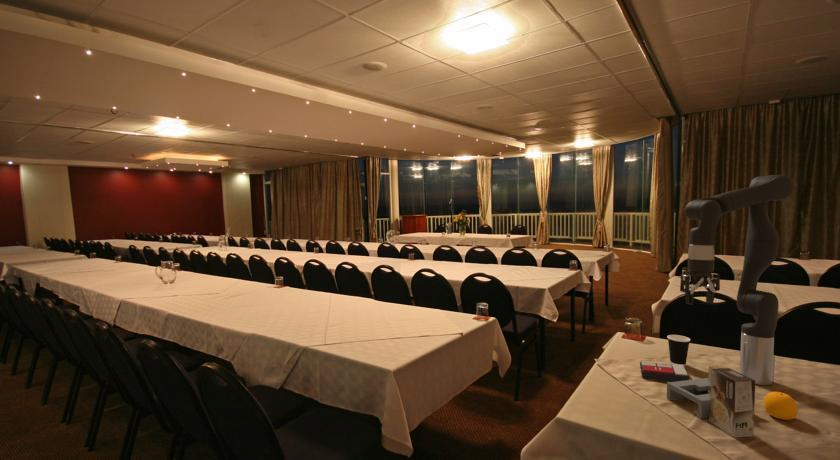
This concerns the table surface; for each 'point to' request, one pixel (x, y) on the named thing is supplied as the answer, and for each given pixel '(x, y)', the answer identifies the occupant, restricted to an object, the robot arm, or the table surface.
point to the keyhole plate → (692, 393)
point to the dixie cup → (678, 349)
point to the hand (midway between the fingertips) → (699, 303)
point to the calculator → (663, 371)
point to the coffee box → (732, 402)
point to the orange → (780, 406)
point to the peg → (712, 368)
